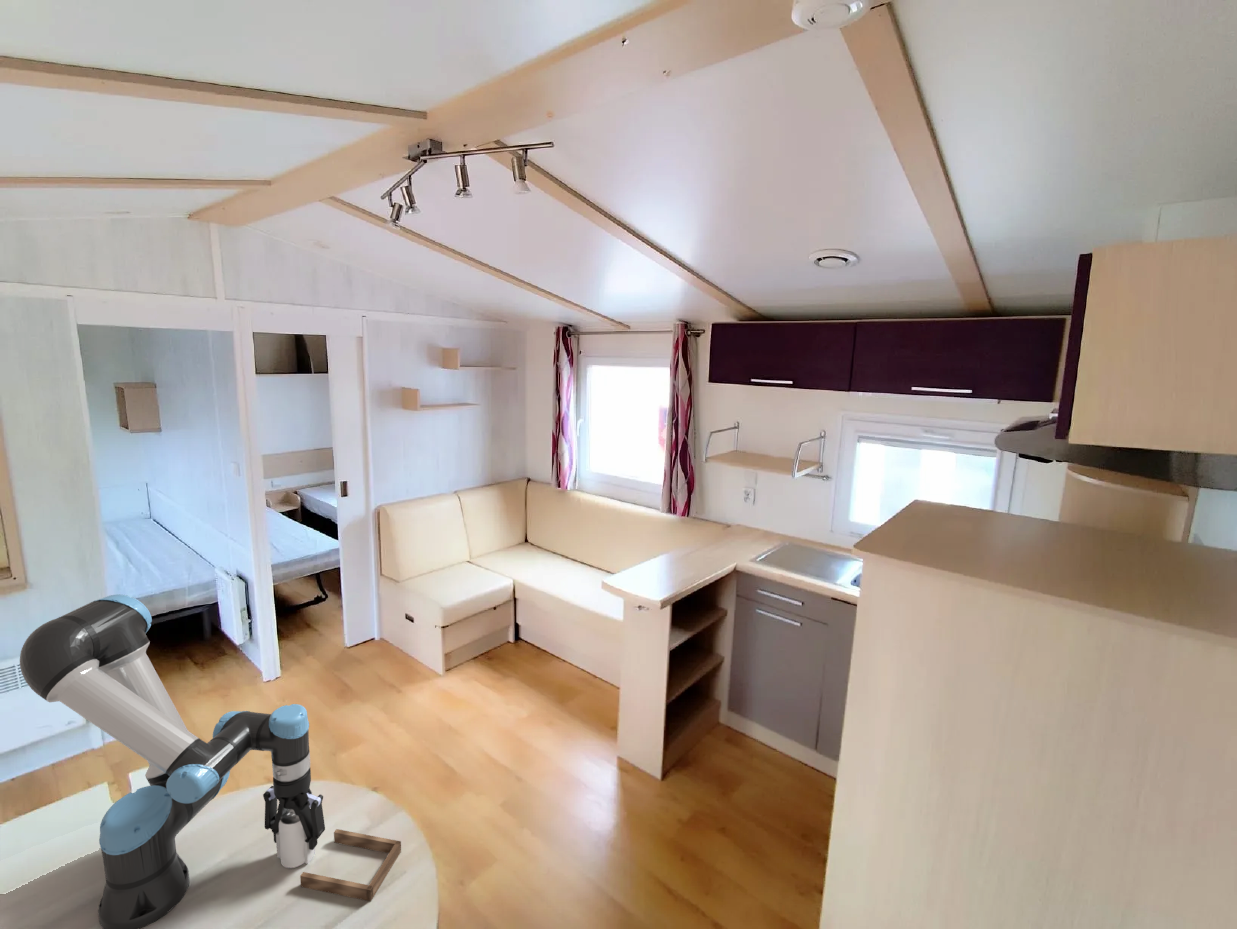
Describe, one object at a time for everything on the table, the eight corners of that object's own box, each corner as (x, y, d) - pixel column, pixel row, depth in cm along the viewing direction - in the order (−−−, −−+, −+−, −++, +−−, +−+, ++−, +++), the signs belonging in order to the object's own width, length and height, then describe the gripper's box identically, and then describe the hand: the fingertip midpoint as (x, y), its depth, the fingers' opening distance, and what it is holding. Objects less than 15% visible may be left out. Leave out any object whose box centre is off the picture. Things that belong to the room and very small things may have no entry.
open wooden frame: (300, 886, 129) (300, 875, 128) (336, 839, 141) (336, 828, 141) (370, 901, 126) (370, 890, 126) (401, 851, 139) (400, 841, 138)
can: (298, 872, 132) (295, 828, 130) (274, 865, 133) (271, 821, 131) (318, 849, 138) (316, 806, 136) (294, 843, 139) (292, 800, 137)
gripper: (241, 776, 129) (247, 861, 133) (319, 790, 126) (323, 877, 131) (265, 753, 136) (271, 835, 141) (340, 766, 133) (343, 849, 138)
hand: (296, 855), depth 136 cm, fingers closed on can, 6 cm apart
